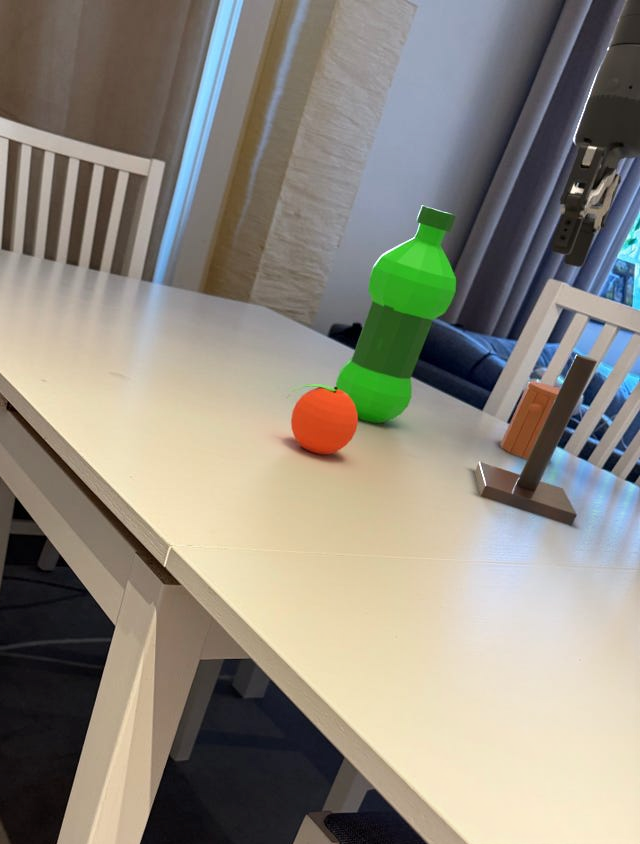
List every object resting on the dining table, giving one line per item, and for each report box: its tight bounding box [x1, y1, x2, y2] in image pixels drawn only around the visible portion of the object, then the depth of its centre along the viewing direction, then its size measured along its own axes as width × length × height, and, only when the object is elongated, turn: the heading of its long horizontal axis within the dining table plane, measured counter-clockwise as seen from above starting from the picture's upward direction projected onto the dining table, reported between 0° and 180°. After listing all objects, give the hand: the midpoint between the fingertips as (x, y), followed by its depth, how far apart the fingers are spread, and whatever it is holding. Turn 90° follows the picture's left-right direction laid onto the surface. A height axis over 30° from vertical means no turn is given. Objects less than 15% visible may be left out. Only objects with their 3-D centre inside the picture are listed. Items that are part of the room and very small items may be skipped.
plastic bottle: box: [335, 205, 457, 424], centre depth 113 cm, size 10×10×25 cm
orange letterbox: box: [499, 380, 560, 460], centre depth 121 cm, size 9×6×9 cm
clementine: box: [286, 383, 359, 455], centre depth 97 cm, size 8×7×7 cm
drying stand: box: [474, 354, 598, 526], centre depth 100 cm, size 10×10×16 cm
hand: (566, 259), depth 106 cm, fingers open, 8 cm apart
